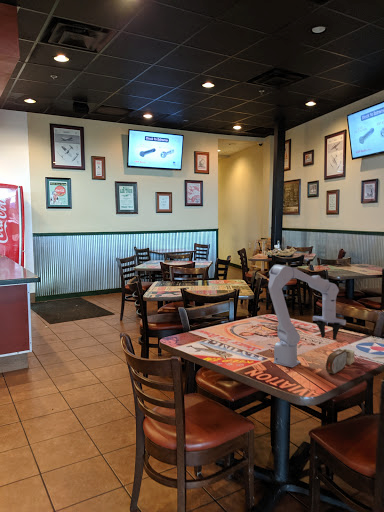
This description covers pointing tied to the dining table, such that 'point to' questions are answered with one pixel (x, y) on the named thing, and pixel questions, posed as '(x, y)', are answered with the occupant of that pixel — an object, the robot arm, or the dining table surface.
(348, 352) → the letter cube
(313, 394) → the dining table surface
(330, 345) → the dining table surface
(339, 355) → the tin
